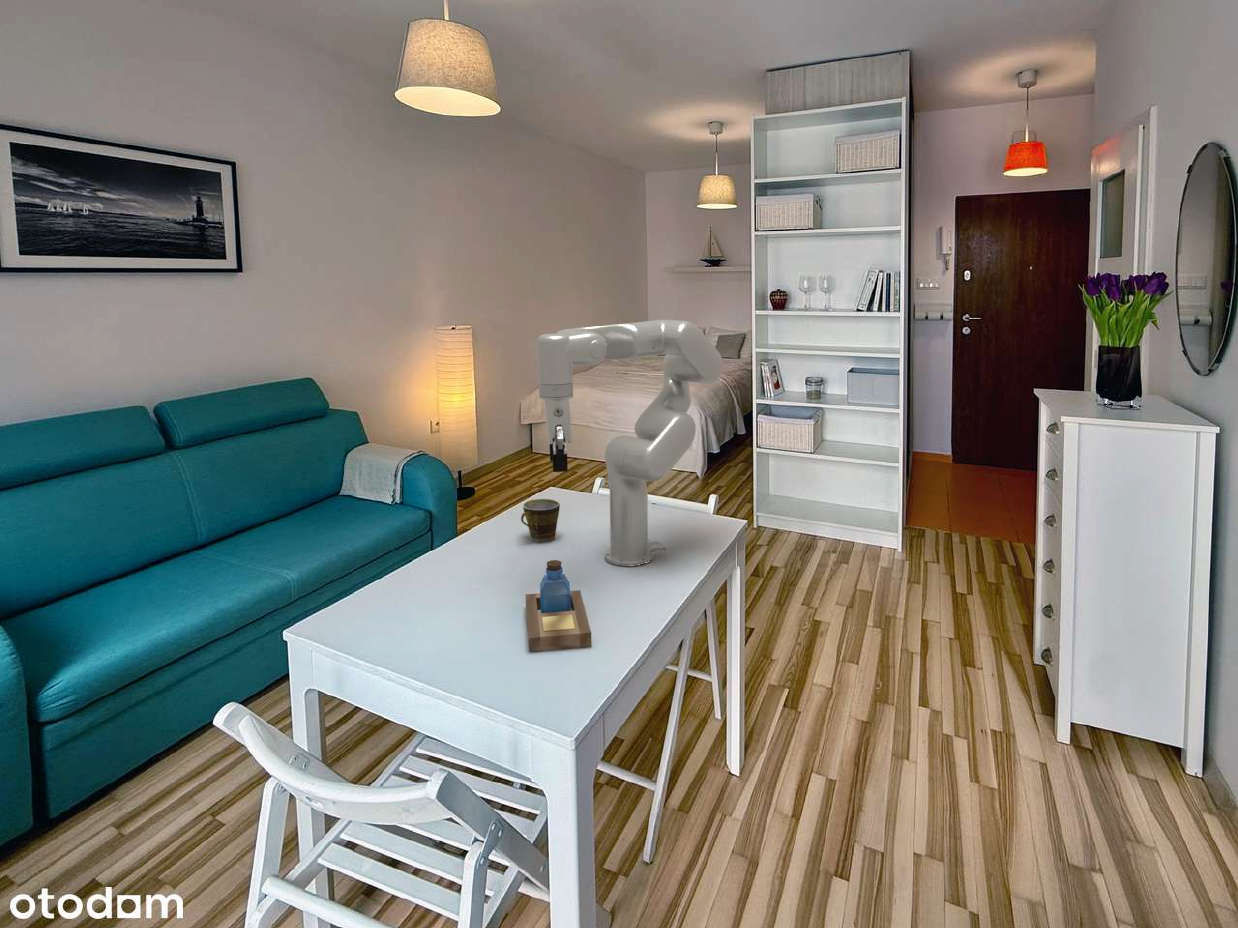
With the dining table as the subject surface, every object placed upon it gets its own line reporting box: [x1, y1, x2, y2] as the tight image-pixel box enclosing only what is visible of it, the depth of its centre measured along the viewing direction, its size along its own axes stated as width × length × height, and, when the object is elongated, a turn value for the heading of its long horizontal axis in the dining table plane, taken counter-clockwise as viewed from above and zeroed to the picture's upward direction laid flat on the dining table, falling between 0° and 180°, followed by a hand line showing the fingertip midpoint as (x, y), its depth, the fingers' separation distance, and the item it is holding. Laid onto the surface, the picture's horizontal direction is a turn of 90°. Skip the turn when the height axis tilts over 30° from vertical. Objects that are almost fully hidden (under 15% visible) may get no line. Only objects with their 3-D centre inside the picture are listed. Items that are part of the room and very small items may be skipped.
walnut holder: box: [525, 589, 592, 653], centre depth 151 cm, size 12×20×3 cm, turn 9°
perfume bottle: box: [539, 559, 572, 613], centre depth 153 cm, size 6×6×12 cm
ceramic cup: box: [520, 498, 561, 544], centre depth 198 cm, size 13×10×10 cm
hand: (558, 465), depth 165 cm, fingers open, 9 cm apart
